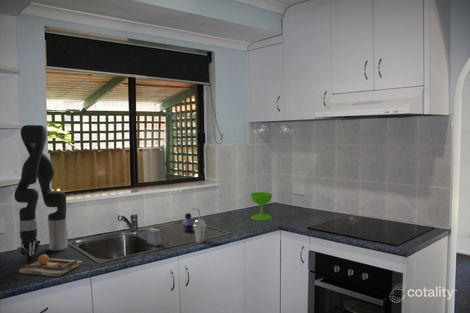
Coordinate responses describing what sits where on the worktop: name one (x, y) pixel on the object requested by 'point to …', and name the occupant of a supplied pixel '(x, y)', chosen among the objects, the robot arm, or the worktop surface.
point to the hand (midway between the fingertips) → (30, 262)
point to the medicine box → (153, 236)
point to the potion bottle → (188, 223)
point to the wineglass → (261, 204)
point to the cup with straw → (199, 228)
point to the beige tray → (51, 267)
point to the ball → (43, 259)
